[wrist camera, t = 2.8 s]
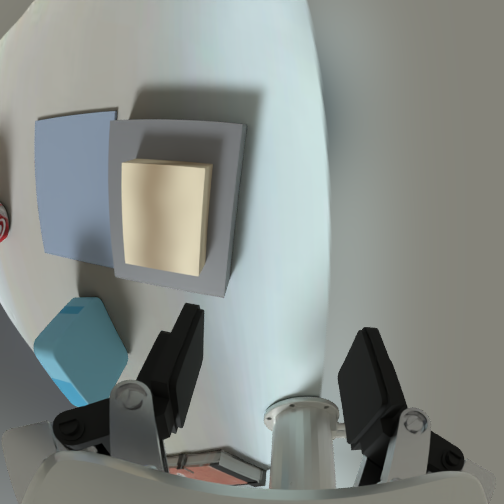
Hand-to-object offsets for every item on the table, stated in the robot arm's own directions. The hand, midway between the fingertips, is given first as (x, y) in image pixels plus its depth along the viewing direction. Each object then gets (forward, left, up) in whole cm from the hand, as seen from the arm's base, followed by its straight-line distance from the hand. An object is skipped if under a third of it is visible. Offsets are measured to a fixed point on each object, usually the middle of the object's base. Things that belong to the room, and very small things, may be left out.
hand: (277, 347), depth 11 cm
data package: (+22, +20, -18) cm, 35 cm away
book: (+6, +68, -18) cm, 70 cm away
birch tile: (+9, 0, -13) cm, 16 cm away
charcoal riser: (+10, 0, -18) cm, 20 cm away
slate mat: (+24, 0, -18) cm, 30 cm away
